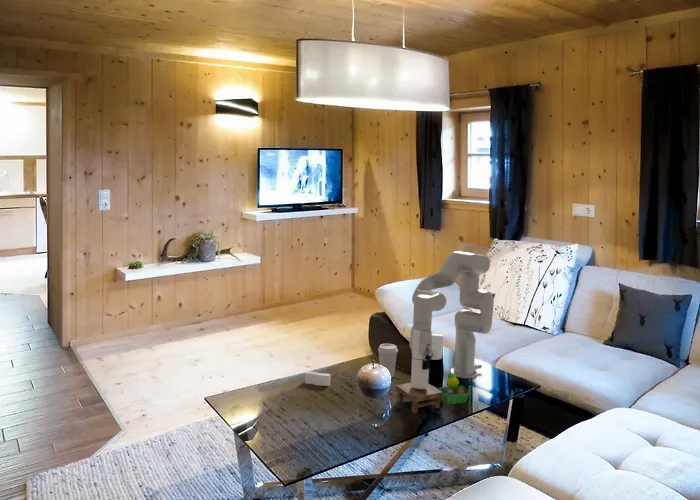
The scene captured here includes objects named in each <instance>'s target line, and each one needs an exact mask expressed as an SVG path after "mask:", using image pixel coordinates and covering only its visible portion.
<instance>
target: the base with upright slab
mask: <svg viewBox="0 0 700 500" xmlns="http://www.w3.org/2000/svg"><path fill="white" fill-rule="evenodd" d="M443 346H444V334H443V333H441V334H440V333H432V351H433V353H434V355H433V356H432V358H431V360H433V361H437V360H441V359H442V358H443V349H444V347H443Z"/></svg>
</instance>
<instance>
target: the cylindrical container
mask: <svg viewBox="0 0 700 500" xmlns="http://www.w3.org/2000/svg"><path fill="white" fill-rule="evenodd" d="M419 336H420V331H419V330H415V329H413V346H412V353H411V361H412V363H411V372H410V373H411V374H410V377H411V378H410V383H411V386H412V387H413V388H416V389H425V388H427V387H428V383H429V371H430V368H429V369H426V370H423V369H422V363H423V360H424V359H423V354H419V353H418V352H419ZM426 352H428V350H426ZM426 352H425V353H426ZM425 356H426V357H427V354H425Z"/></svg>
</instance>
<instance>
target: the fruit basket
mask: <svg viewBox="0 0 700 500" xmlns="http://www.w3.org/2000/svg"><path fill="white" fill-rule="evenodd" d="M445 384H446V386H444V387H439V389H438V390H440V391H442V392H443V395H442V397H441V400H442V401H443V402H444V403H445V404H446V405H456V404H464V403H465V404H466V403H467V401H468V398H469V396H470V394H471V391H470V390H469V389H467V387H465V386H464V385H459V384H460V381H459V379H458V377H456V376H455V375H454V374H452V373H448V375H447V379H446V382H445Z"/></svg>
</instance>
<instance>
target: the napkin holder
mask: <svg viewBox="0 0 700 500" xmlns="http://www.w3.org/2000/svg"><path fill="white" fill-rule="evenodd" d="M304 384H310V385H314V386H324V387H330V385H331V373H322V372H321V373H320V372H316V371H310V370H309V371H307V370H306V371H305V373H304Z"/></svg>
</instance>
